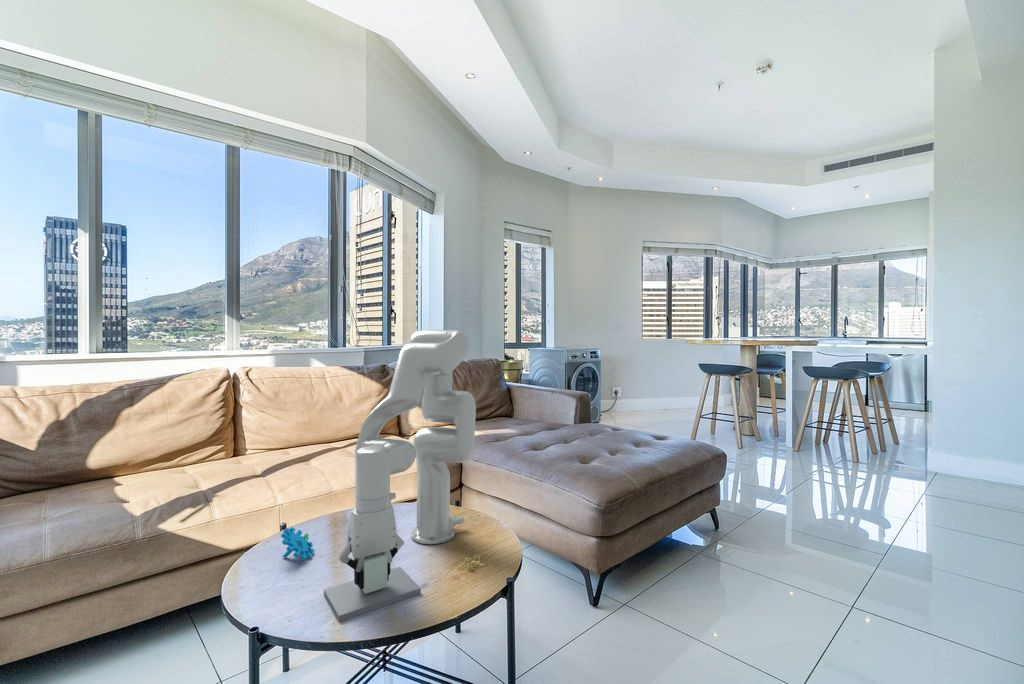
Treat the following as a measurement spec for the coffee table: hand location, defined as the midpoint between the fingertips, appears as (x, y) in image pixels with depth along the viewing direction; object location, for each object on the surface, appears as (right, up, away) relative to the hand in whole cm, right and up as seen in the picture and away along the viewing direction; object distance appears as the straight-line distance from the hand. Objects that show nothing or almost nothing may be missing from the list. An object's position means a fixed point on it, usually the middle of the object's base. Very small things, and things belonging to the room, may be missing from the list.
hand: (372, 581), depth 104 cm
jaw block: (0, -1, 0) cm, 1 cm away
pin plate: (0, -3, 0) cm, 3 cm away
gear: (-25, -3, +17) cm, 30 cm away
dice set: (+22, -4, +14) cm, 26 cm away
